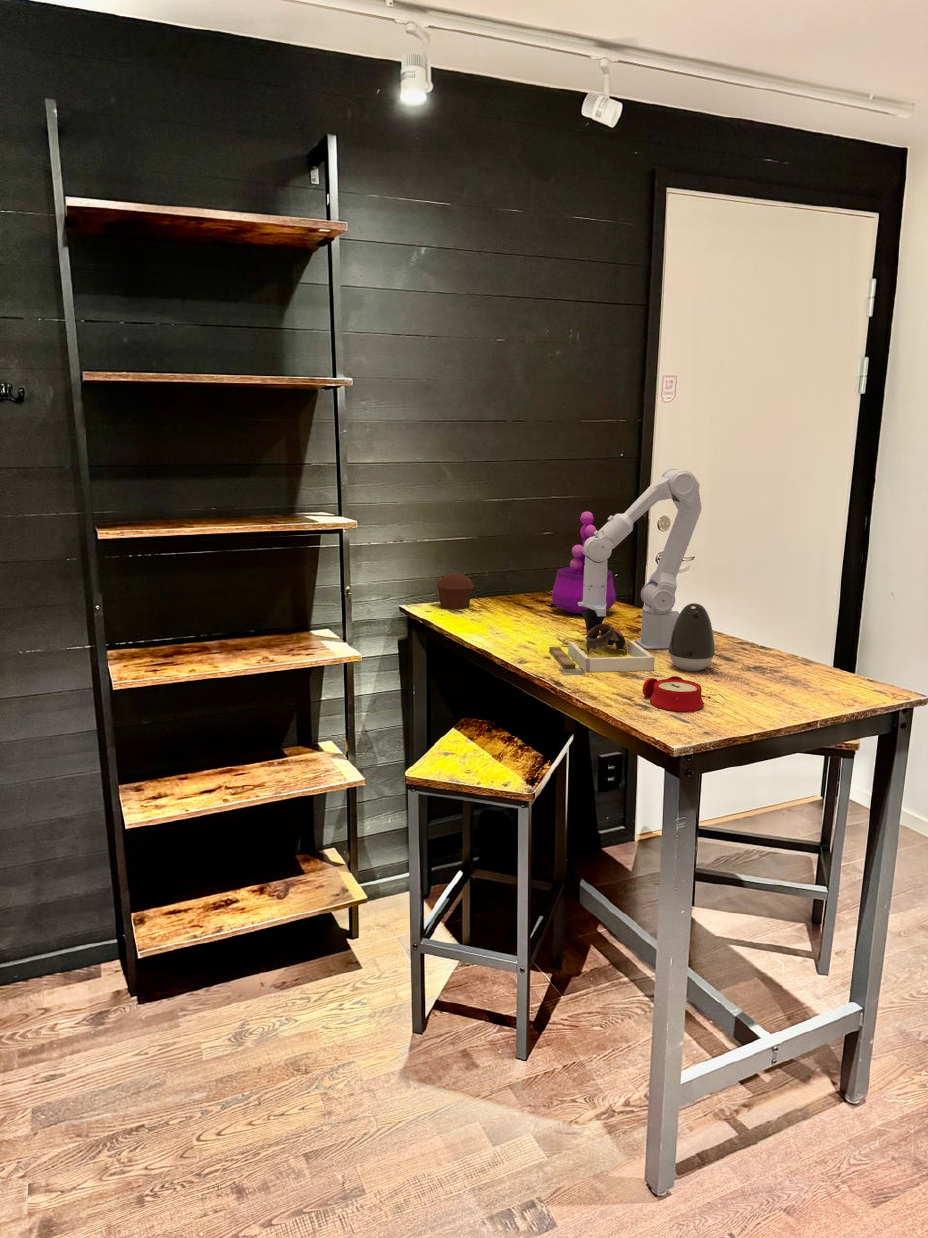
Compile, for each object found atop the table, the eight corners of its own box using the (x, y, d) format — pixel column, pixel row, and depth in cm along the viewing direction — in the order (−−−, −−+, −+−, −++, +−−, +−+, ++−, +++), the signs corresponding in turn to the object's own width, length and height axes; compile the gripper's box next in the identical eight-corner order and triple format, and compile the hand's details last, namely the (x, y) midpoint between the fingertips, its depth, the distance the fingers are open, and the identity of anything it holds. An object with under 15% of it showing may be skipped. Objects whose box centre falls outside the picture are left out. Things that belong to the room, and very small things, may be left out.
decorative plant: (549, 605, 263) (553, 507, 256) (610, 606, 262) (615, 508, 256) (553, 618, 245) (557, 514, 238) (618, 620, 244) (624, 515, 237)
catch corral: (631, 652, 209) (632, 640, 208) (653, 670, 193) (654, 657, 193) (568, 653, 207) (568, 641, 206) (585, 672, 191) (585, 659, 191)
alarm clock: (671, 698, 162) (634, 662, 175) (665, 726, 165) (629, 688, 177) (718, 694, 165) (679, 658, 178) (712, 722, 168) (673, 684, 181)
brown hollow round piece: (631, 660, 203) (617, 632, 200) (594, 674, 206) (580, 647, 204) (629, 636, 214) (616, 609, 211) (594, 649, 217) (581, 623, 214)
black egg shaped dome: (669, 673, 191) (674, 607, 188) (665, 661, 201) (669, 598, 198) (716, 675, 190) (721, 609, 186) (709, 663, 200) (714, 599, 197)
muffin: (428, 607, 259) (428, 574, 256) (450, 601, 267) (451, 570, 265) (459, 612, 252) (459, 579, 249) (481, 606, 260) (482, 574, 258)
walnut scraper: (544, 652, 208) (544, 647, 208) (564, 652, 209) (564, 646, 209) (563, 676, 189) (563, 669, 189) (585, 675, 190) (585, 669, 189)
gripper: (572, 580, 218) (570, 631, 221) (586, 590, 204) (584, 645, 207) (598, 579, 219) (596, 631, 222) (615, 590, 205) (612, 645, 208)
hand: (592, 638), depth 214 cm, fingers closed
